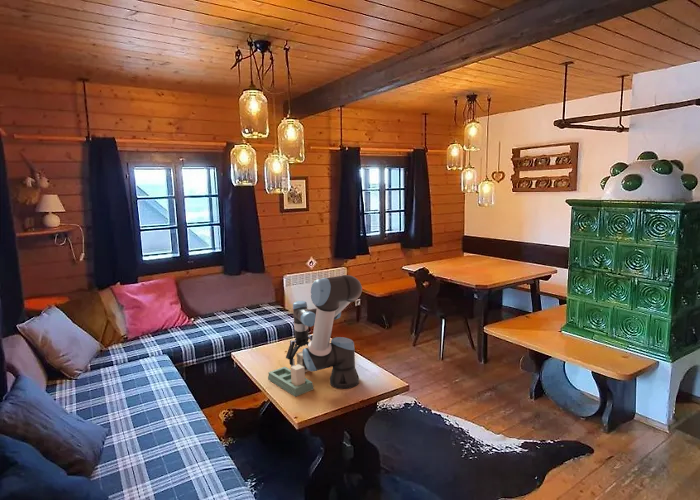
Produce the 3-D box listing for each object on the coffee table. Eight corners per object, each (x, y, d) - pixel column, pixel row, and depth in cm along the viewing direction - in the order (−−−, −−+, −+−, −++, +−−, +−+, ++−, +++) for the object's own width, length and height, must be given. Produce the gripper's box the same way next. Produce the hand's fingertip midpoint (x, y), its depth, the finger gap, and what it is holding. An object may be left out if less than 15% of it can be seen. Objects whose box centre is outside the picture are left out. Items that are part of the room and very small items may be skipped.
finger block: (310, 370, 240) (309, 353, 239) (303, 373, 237) (302, 356, 236) (305, 367, 245) (303, 350, 243) (297, 370, 242) (296, 353, 240)
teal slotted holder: (313, 389, 219) (312, 366, 217) (295, 396, 212) (293, 373, 210) (286, 373, 239) (284, 352, 237) (268, 379, 232) (266, 358, 230)
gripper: (315, 322, 248) (317, 357, 252) (277, 333, 232) (280, 370, 236) (323, 325, 242) (325, 361, 246) (285, 337, 227) (287, 375, 230)
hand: (303, 366), depth 241 cm, fingers open, 13 cm apart
